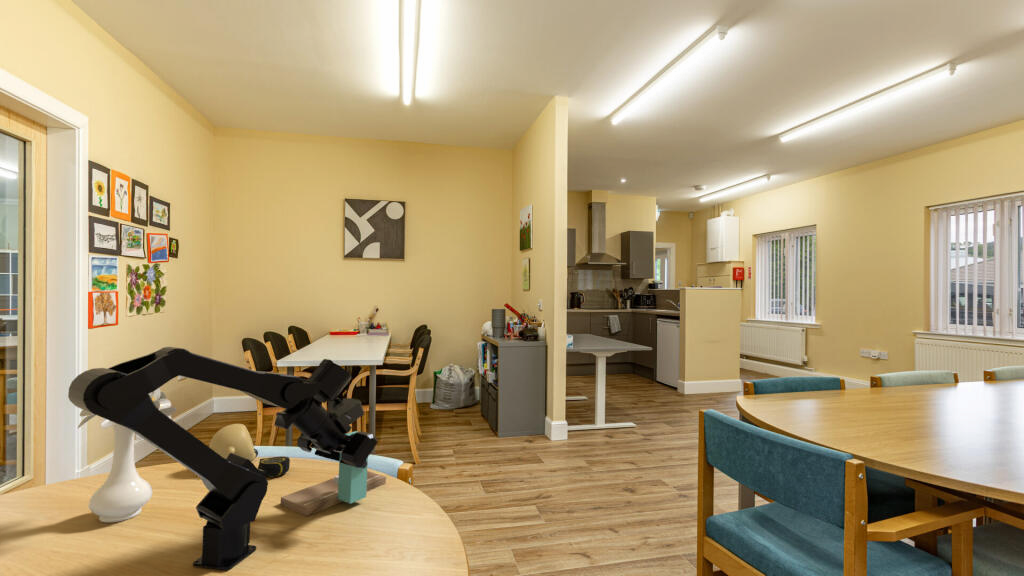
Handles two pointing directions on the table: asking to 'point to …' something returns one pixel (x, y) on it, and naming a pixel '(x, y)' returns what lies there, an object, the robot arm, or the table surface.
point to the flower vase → (124, 471)
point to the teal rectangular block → (351, 481)
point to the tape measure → (274, 466)
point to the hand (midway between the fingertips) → (358, 464)
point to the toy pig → (233, 442)
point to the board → (323, 495)
